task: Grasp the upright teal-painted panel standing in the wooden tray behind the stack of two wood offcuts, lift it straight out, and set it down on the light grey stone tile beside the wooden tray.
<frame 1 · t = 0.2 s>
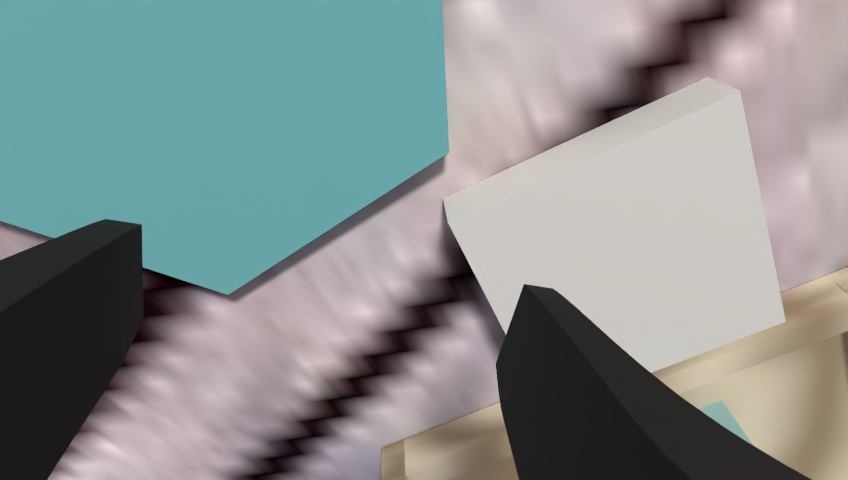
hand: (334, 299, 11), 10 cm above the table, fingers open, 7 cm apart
wooden tray: (641, 458, 28), on the table
plaque: (164, 8, 18), on the table
panel: (712, 456, 27), point 1 cm above the table, touching wooden tray
tile: (609, 248, 22), on the table
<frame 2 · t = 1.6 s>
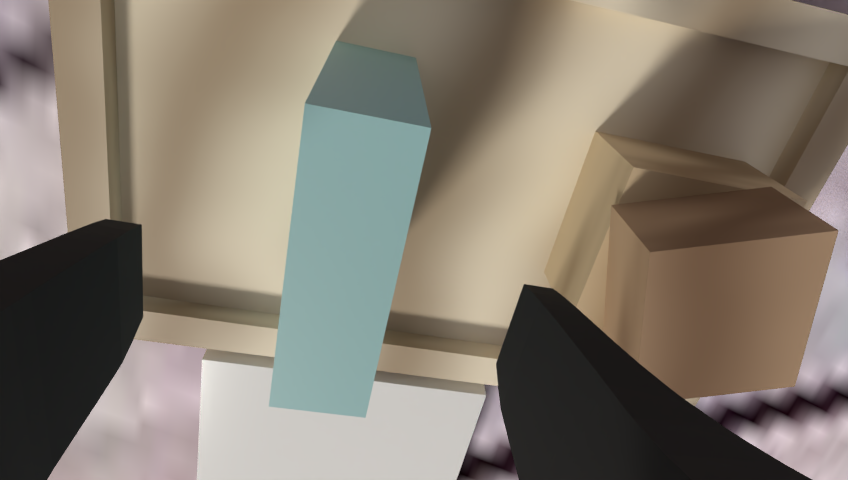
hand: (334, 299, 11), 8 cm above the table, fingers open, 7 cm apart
wooden tray: (449, 170, 19), on the table
offcut b: (681, 270, 16), point 4 cm above the table, touching offcut a
panel: (356, 167, 17), point 1 cm above the table, touching wooden tray
tile: (334, 435, 24), on the table
offcut a: (640, 218, 18), point 1 cm above the table, touching offcut b, wooden tray
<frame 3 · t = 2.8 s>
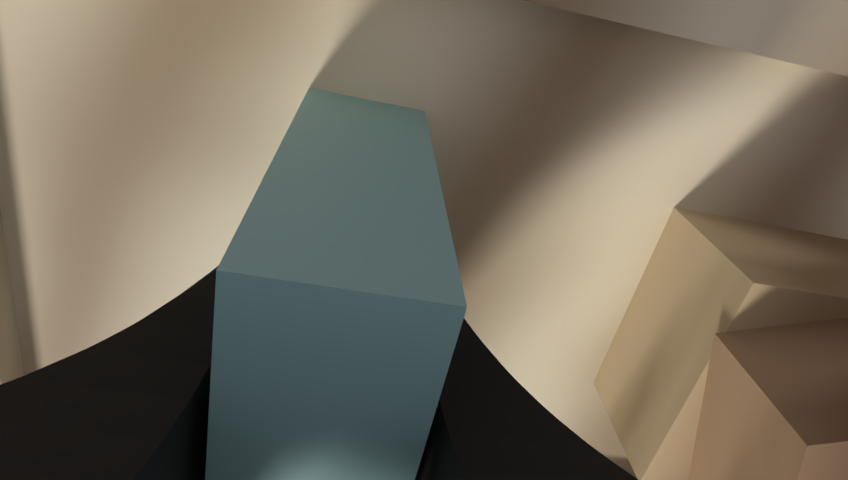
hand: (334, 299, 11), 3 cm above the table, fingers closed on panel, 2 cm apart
wooden tray: (468, 251, 14), on the table
offcut b: (804, 414, 11), point 4 cm above the table, touching offcut a
panel: (340, 257, 12), point 1 cm above the table, touching gripper, wooden tray
offcut a: (725, 317, 14), point 1 cm above the table, touching offcut b, wooden tray
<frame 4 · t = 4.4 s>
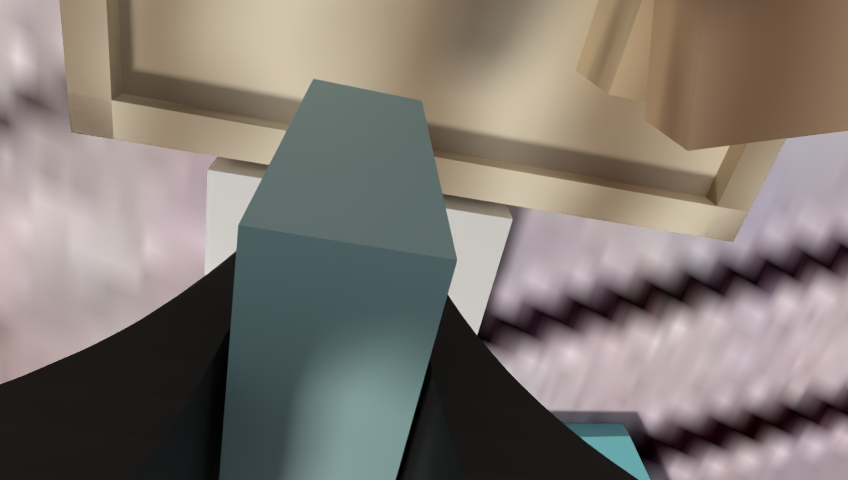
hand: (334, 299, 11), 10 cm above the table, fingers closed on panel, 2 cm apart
offcut b: (733, 21, 14), point 4 cm above the table, touching offcut a
panel: (342, 240, 13), point 8 cm above the table, touching gripper
tile: (348, 288, 22), on the table
offcut a: (681, 3, 17), point 1 cm above the table, touching offcut b, wooden tray
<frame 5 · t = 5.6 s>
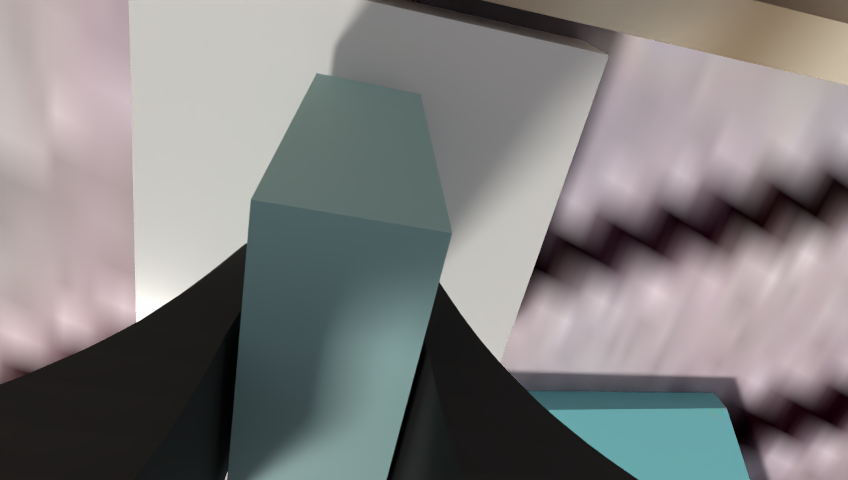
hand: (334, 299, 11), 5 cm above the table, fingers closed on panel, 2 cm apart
panel: (344, 230, 13), point 3 cm above the table, touching gripper
tile: (351, 187, 16), on the table
when the fingers open (5 cm above the table, at t = 6.0 s): panel stays where it is, resting on tile.
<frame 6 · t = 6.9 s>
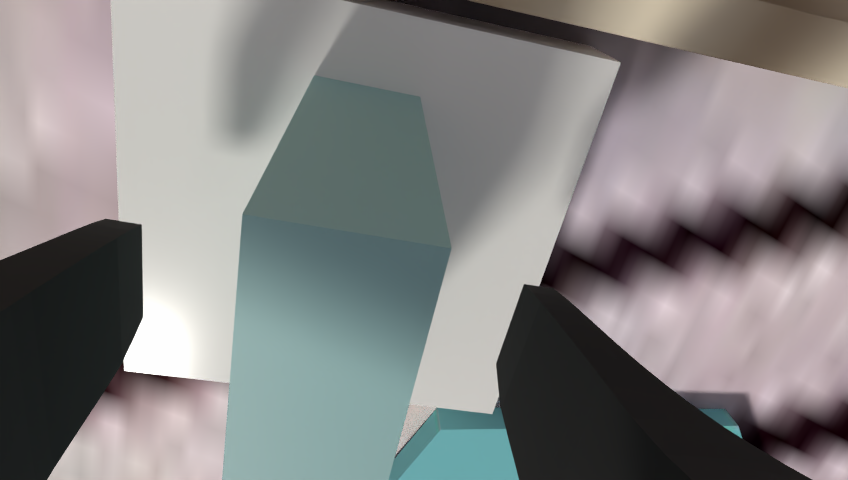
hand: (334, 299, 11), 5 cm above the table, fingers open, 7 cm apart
panel: (342, 234, 13), point 2 cm above the table, touching tile
tile: (349, 199, 15), on the table
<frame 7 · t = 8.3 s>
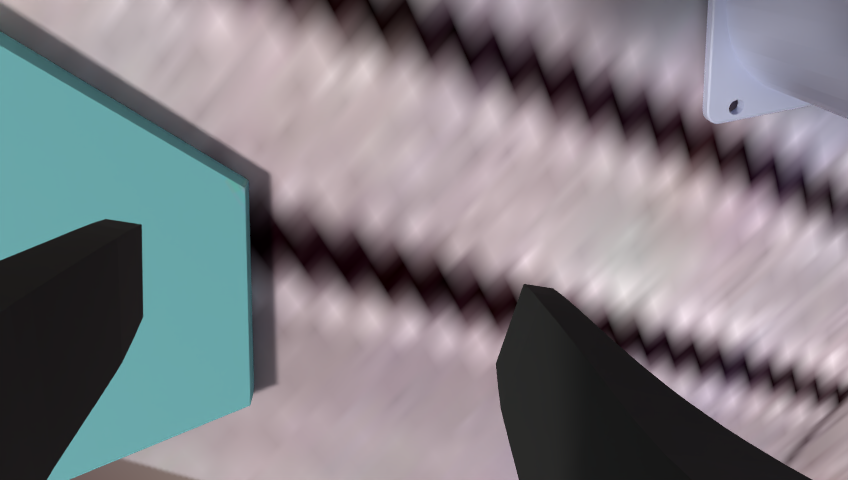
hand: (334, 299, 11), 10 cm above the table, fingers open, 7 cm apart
plaque: (30, 271, 22), on the table
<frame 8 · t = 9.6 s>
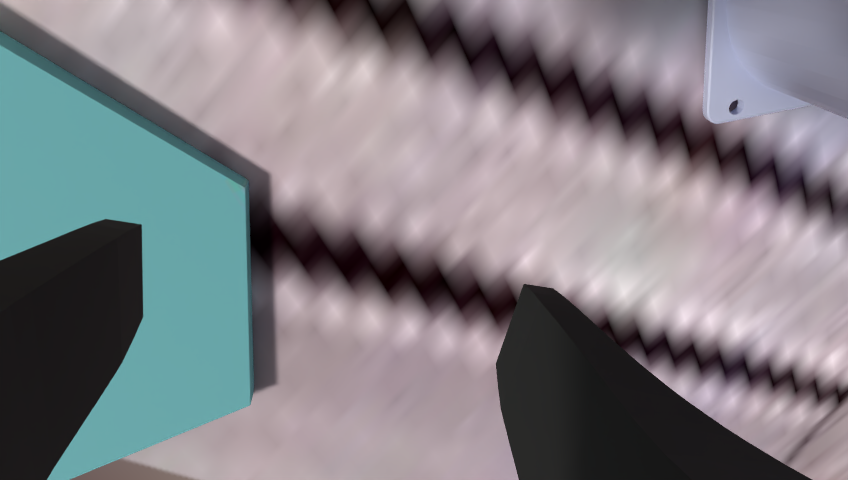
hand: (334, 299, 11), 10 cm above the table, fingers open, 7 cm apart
plaque: (30, 271, 22), on the table
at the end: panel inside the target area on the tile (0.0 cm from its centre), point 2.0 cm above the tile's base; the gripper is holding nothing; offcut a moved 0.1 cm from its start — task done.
